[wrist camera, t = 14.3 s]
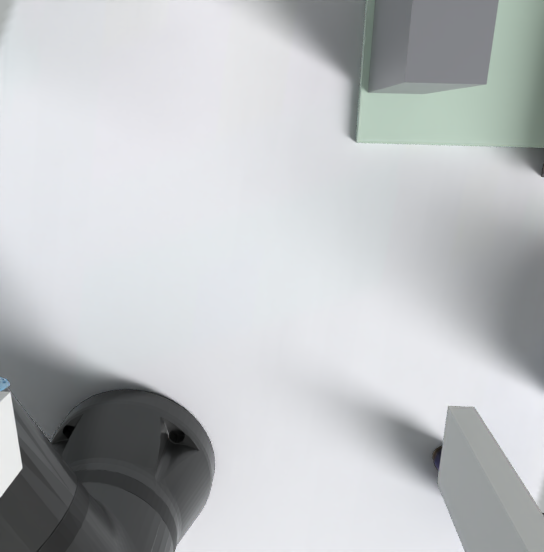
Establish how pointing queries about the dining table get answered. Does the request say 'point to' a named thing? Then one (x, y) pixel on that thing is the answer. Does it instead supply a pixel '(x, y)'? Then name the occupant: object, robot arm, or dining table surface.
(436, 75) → the green platform with post
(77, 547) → the robot arm
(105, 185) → the dining table surface
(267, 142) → the dining table surface
